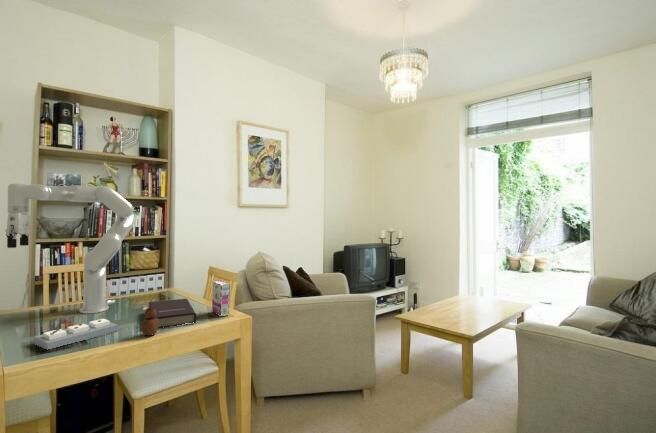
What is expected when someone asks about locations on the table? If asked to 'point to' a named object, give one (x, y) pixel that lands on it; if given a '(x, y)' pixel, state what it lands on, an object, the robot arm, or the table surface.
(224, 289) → the candy bar box
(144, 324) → the wooden figurine
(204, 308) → the table surface
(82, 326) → the two dot tile
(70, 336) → the tile board
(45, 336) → the three dot tile
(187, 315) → the book
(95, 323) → the one dot tile
